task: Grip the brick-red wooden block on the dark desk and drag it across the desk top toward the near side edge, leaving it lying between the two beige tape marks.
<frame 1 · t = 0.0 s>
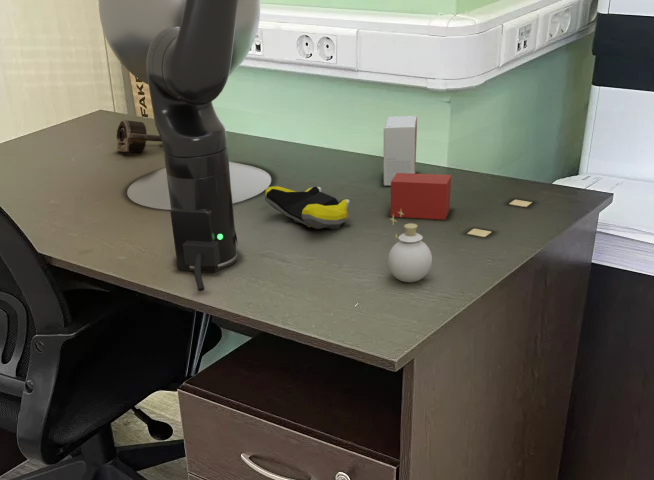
mechanical counter: (147, 151, 187), on the table
white potion bottle: (406, 280, 122), on the table
black yellow shoe-shaped piece: (310, 223, 143), on the table
small box: (399, 180, 159), on the table
desk lamp: (199, 185, 165), on the table
block: (420, 213, 143), on the table
edge tape marks: (500, 217, 139), on the table
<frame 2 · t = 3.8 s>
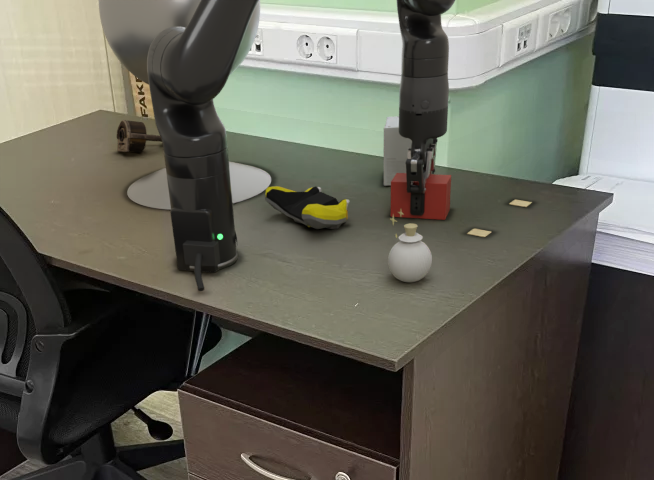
hand: (420, 208, 143), 1 cm above the table, tool pointing down, fingers closed on block, 4 cm apart
block: (420, 213, 143), on the table, touching gripper
everything else where it was.
when the fingers open (1 cm above the table, at t = 7.9 s): block stays where it is, on the table.
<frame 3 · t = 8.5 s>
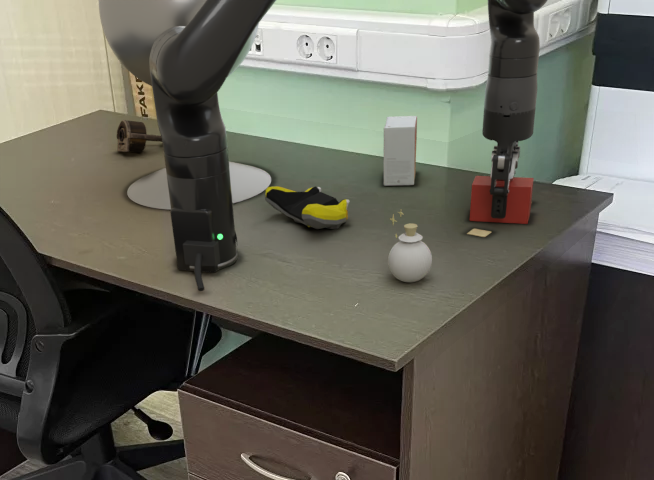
hand: (501, 208, 138), 2 cm above the table, tool pointing down, fingers open, 8 cm apart
block: (499, 217, 139), on the table
everything else where it was.
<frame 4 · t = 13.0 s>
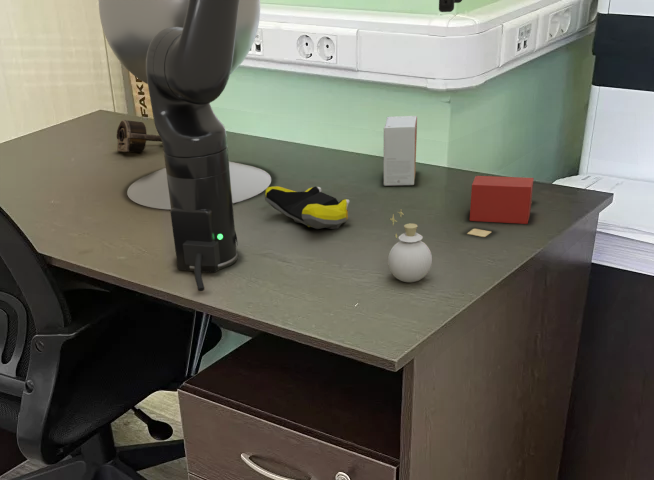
hand: (450, 7, 135), 30 cm above the table, tool pointing down, fingers open, 8 cm apart
nothing on the table moved.
at the end: block inside the target area (0.1 cm from its centre), on the table; block tilted 0°; the gripper is holding nothing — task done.
